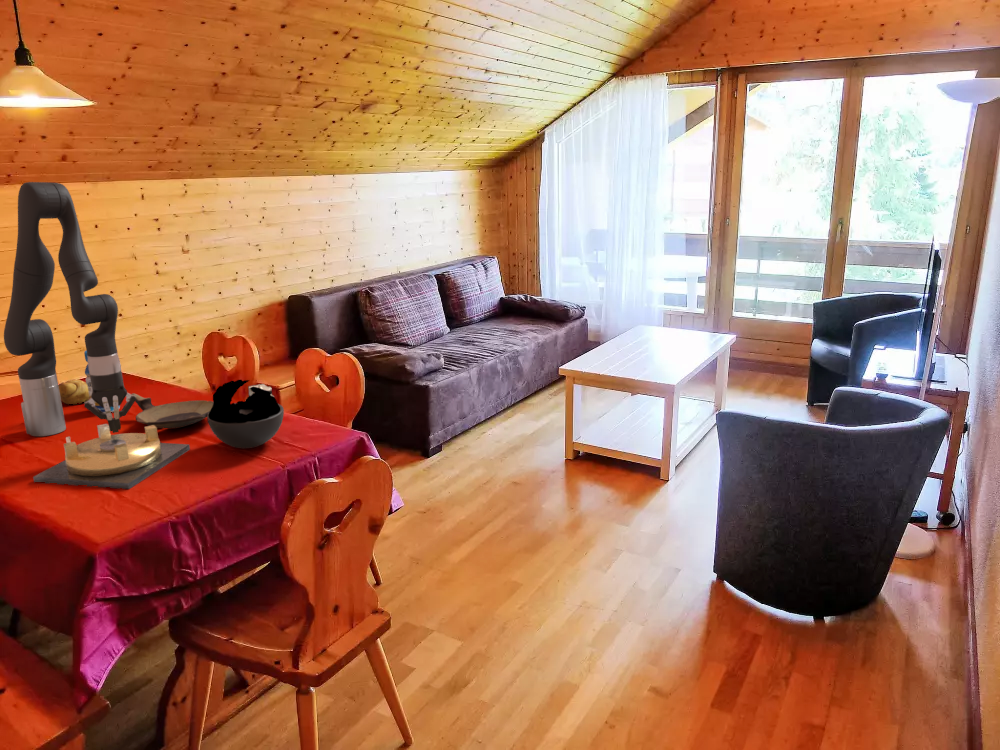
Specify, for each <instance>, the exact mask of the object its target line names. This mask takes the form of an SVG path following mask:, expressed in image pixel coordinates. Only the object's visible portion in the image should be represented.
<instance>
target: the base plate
mask: <svg viewBox="0 0 1000 750" xmlns="http://www.w3.org/2000/svg"><path fill="white" fill-rule="evenodd" d="M65 441H66V443H70V442H72V440H71V436H66V437H65ZM160 446H161V455H160V456H159V457H158V458H157V459H156V460H155V461H153V462H151V463H149V464H147V465H145V466H143V467H140V468H137V469H134V470H130V471H126V472H122V473H117V474H110V475H101V476H84V475H77V474H74V473H71V472H70V471H68V469H67V466H66V460H65V459H64V460H63V461H61V462H58V463H57V464H55V465H53V466H51V467H49V468H47V469H45V470H43V471H42V472H39V473H38V474H36V475H34V476H33V477H32V479H33V482H34V483H35V482H45V483H44V484H50V483H57V484H56V485H64V484H68V486H78V485H87V486H86V487H92V486H98V487H97V488H106V487H110V488H111V489H120V488H122V489H123V490H130V489H131V488H133V487H135V486H136V485H138V484H139V483H141V482H143V481H144V480H145V479H147V478H149V477H150V476H151V475H153V474H154V473H156V472H158V471H160V470H161V469H162V468H164V467H166V466H167V465H168V464H170V463H172V462H173V461H175V460H176V459H178V458H180V457H181V456H182V455H184V454H185V453H187V452H188V451H190V450H191V446H190V444H186V443H170V442H160Z"/></svg>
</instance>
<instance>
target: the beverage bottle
mask: <svg viewBox="0 0 1000 750" xmlns="http://www.w3.org/2000/svg"><path fill="white" fill-rule="evenodd" d="M84 360H85V361H86V363H87V364H86V366H85V369H84V375H86V377H85V383H86V384H87V386H88V391H89V397H90V398H92V397H91V395H92V392H93V391H92V385H91V379H90V374H89V369H88V355H87V351H86V350H84ZM94 403H95V407H97V408H98V409H99V410H100V411H102V412H103V413H106V412H105V409H104V408H103V407H101V406H100V405H99V404H97V403H96V402H95V401H94ZM120 407H121V404H120V405H119V409H120ZM110 409H111V412H112V413H114V408H113V407H110Z"/></svg>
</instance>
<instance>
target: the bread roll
mask: <svg viewBox="0 0 1000 750" xmlns="http://www.w3.org/2000/svg"><path fill="white" fill-rule="evenodd" d="M58 386H59V392H60V397H61V403H64V404H65V405H69V404H73V405H78V404H77V403H79V404H82V402H84V403H85V401H88V400H89V399H90V397H89V391H88V386H87V384H86V381H83V380H81V379H70V380H66V381H65V382H60V383H58Z"/></svg>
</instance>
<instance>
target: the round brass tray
mask: <svg viewBox="0 0 1000 750" xmlns="http://www.w3.org/2000/svg"><path fill="white" fill-rule="evenodd" d="M96 427H97V433H98V437H96V438H92V439H90V440H86V441H83V442H81V443H78V444H77V443H76V442H75V441H71V442H70V443H67V442H66V443H63V448H64V454H65V455H64V460H66V466H67V469H68V471H70V472H71V473H74V474H77V475H84V476H101V475H110V474H117V473H122V472H126V471H130V470H134V469H137V468H140V467H143V466H145V465H147V464H149V463H151V462H153V461H155V460H156V459H157V458H158V457H159V456H160V455H161V446H160V443H161V441H160V438H159V435H158V428H157V427H156V426H155V425H152V426H149V425H147V426H144V433H141V432H139V433H138V432H130V433H129V432H128V433H114V434H111V431H110V429H109V425H108V423H103V424H99V425H98V424H97V425H96Z"/></svg>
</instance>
